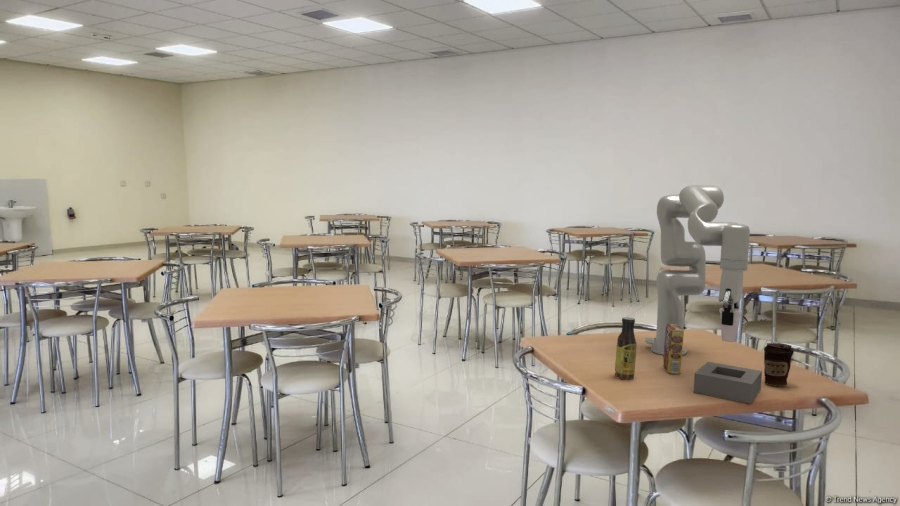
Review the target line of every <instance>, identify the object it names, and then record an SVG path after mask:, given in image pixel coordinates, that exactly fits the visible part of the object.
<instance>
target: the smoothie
mask: <svg viewBox="0 0 900 506" xmlns="http://www.w3.org/2000/svg"><path fill="white" fill-rule="evenodd" d="M732 300H733V299H732ZM722 309H723V307H720V308H719V309H718V310H719V311H718V312H719V313H720V321H721V320H722ZM733 313H734V318H733V325H732V326H729V325H722V324H721V323H720V327H721V328H720V330H721V340H722V341H723V342H727V343H735V342H736V340H737V339H736V338H737V335H738V330H739V327H740V326H739V325H740V321H741V320H740V319H741V315H742V314H743V310H742V309H740V308H739V309H736V308H734V307H733Z"/></svg>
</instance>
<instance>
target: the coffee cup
mask: <svg viewBox="0 0 900 506" xmlns="http://www.w3.org/2000/svg"><path fill="white" fill-rule="evenodd" d="M763 353H764V355H763V360H764V361H763V364H764V367H763V368H764V372H763V373H764V383H765V384H766V385H770V386H773V387H774V386H775V387H780V388H781V387H788V382H787V381H788V377H789V373H790V370H791V365H792V364H791V363H792V357H793V355H794V349H792V345H790V344H787V343H781V342H778V343H777V342H776V343H775V342H768V343H766V346H765V347H764V348H763Z"/></svg>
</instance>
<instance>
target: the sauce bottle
mask: <svg viewBox="0 0 900 506" xmlns="http://www.w3.org/2000/svg"><path fill="white" fill-rule="evenodd" d="M621 323H622V325H621V332H620V333H619V335H618V336H617V342H616V352H615V354H616V355H615V366H614V371H615V373H614V376H615V377H616V378H618V379H621V380H632V379H634V377H635V370H636V362H637V361H636V359H637V358H636V357H637V347H638V346H637V344H638V343H637V341H636V340H637V339H636V336H635V330H634V328H635V323H636V318H635V317H628V316H626V317H622V318H621Z"/></svg>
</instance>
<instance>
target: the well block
mask: <svg viewBox="0 0 900 506" xmlns="http://www.w3.org/2000/svg"><path fill="white" fill-rule="evenodd" d="M762 373H763V370H758V369H754V368H747V367H740V366H735V365H730V364H724V363H723V364H722V363H718V362H713V361H706V362H705V364H703V365H702V366H701V367H700V368H699V369H698V370H697V371H696V372H694V377H693V378H694V380H693V381H694V382H693V393H695V394H700V395H705V396H710V397H715V398H719V399H724V400H731V401H735V402H738V403H739V402H740V403H742V404H743V403H744V404H749V405H752V403H753V401H755V399H756V397H757V396H758V394H759V393H760V391H761V390H762Z"/></svg>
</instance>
